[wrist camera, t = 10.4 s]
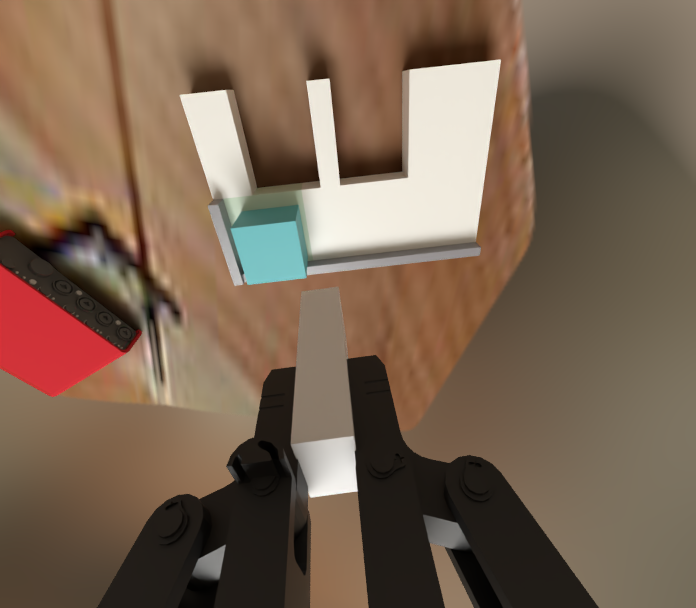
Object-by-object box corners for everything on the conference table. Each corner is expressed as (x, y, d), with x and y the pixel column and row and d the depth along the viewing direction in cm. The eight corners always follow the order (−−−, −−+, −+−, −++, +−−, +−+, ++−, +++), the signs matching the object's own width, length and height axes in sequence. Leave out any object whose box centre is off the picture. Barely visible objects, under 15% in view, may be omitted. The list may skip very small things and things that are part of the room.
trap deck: (191, 94, 30) (170, 95, 26) (486, 61, 31) (512, 57, 26) (243, 265, 40) (234, 285, 36) (465, 239, 41) (481, 257, 36)
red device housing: (143, 330, 45) (126, 355, 41) (77, 372, 49) (54, 398, 45) (11, 227, 36) (-29, 245, 32) (-60, 287, 40) (-104, 310, 35)
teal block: (241, 211, 34) (230, 228, 30) (298, 204, 34) (295, 220, 30) (256, 262, 37) (247, 284, 33) (308, 256, 37) (306, 277, 33)
